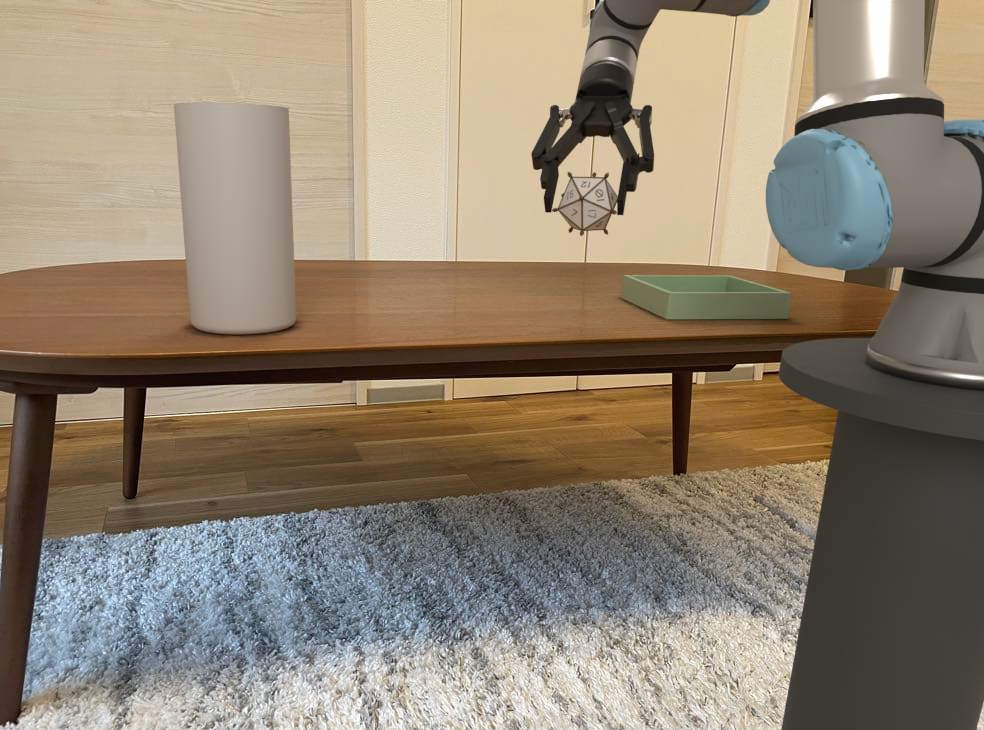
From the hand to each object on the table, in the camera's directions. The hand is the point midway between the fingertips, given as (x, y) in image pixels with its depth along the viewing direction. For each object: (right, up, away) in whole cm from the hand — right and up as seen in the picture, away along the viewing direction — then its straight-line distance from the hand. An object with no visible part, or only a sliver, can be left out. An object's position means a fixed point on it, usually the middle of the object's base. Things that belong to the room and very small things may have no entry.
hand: (583, 206), depth 98 cm
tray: (+20, -11, +16) cm, 28 cm away
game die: (+1, -3, +4) cm, 5 cm away
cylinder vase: (-42, -16, -3) cm, 45 cm away
